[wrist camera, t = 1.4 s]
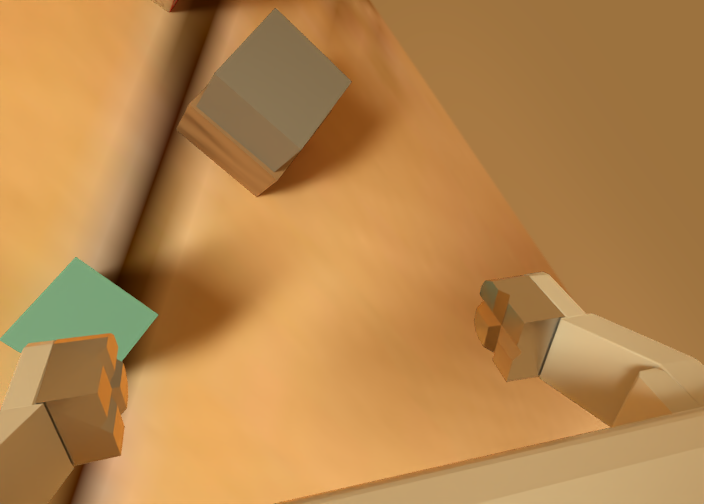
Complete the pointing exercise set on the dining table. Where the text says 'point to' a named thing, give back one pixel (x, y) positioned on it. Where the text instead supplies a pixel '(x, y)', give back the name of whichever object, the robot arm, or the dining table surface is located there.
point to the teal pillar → (81, 312)
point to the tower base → (228, 150)
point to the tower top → (273, 91)
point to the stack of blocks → (166, 4)
